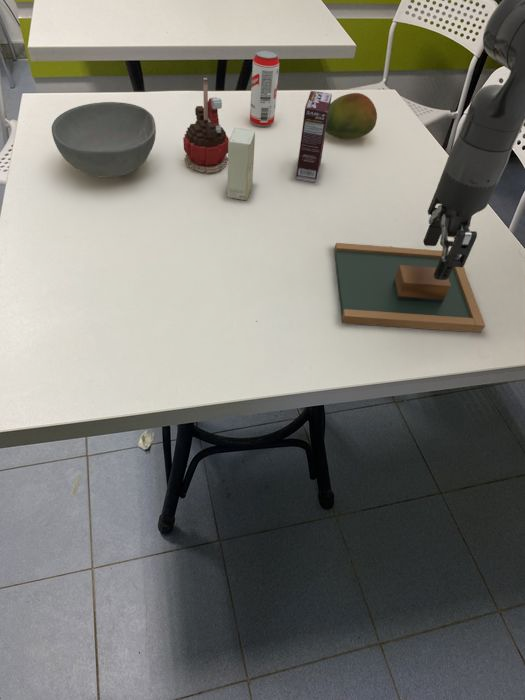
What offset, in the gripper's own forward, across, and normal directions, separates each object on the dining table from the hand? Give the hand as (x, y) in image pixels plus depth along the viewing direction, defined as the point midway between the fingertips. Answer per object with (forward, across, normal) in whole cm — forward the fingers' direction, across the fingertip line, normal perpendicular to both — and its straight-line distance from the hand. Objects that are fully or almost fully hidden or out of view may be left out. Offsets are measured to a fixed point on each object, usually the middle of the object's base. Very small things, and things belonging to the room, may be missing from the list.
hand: (434, 260), depth 81 cm
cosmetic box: (+8, +29, +33) cm, 45 cm away
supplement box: (+8, +39, +18) cm, 44 cm away
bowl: (+8, +34, +61) cm, 71 cm away
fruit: (+9, +57, +8) cm, 58 cm away
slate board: (+8, +2, +3) cm, 9 cm away
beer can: (+8, +61, +29) cm, 68 cm away
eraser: (+7, 0, +1) cm, 7 cm away
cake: (+8, +39, +41) cm, 57 cm away
